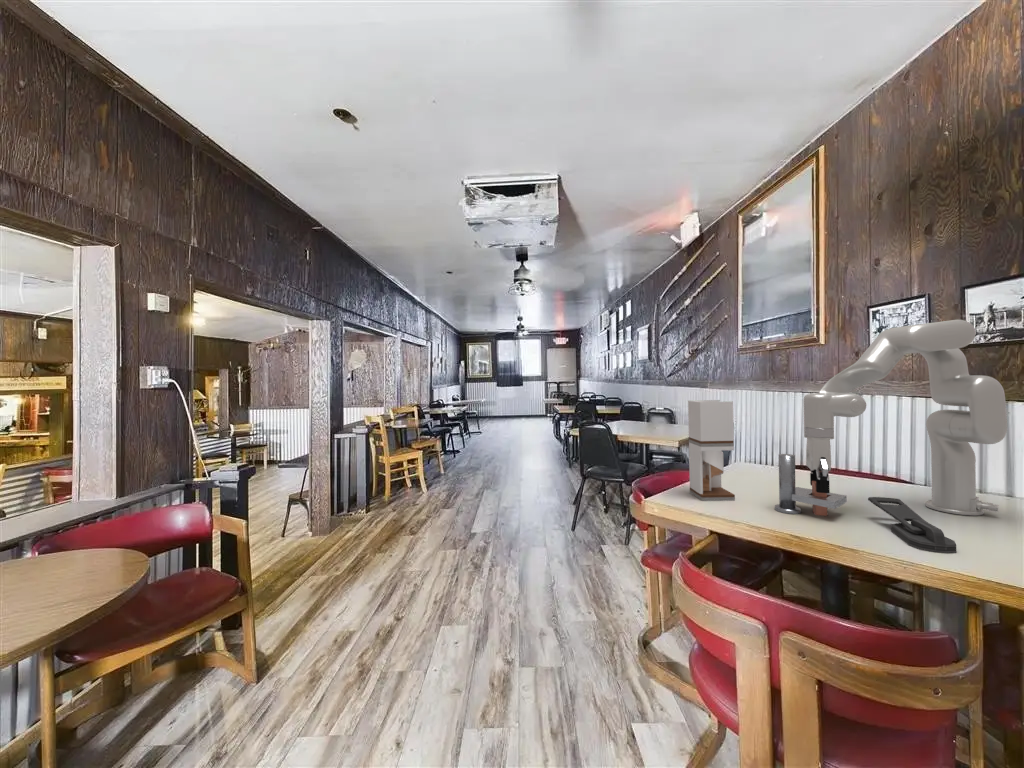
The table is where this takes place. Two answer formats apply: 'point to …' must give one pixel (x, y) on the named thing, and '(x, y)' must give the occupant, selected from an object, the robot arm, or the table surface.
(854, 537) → the table surface
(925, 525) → the zipper pull
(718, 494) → the white tower model
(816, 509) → the reddish brown rectangular block
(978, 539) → the table surface
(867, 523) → the table surface
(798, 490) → the rosette post
